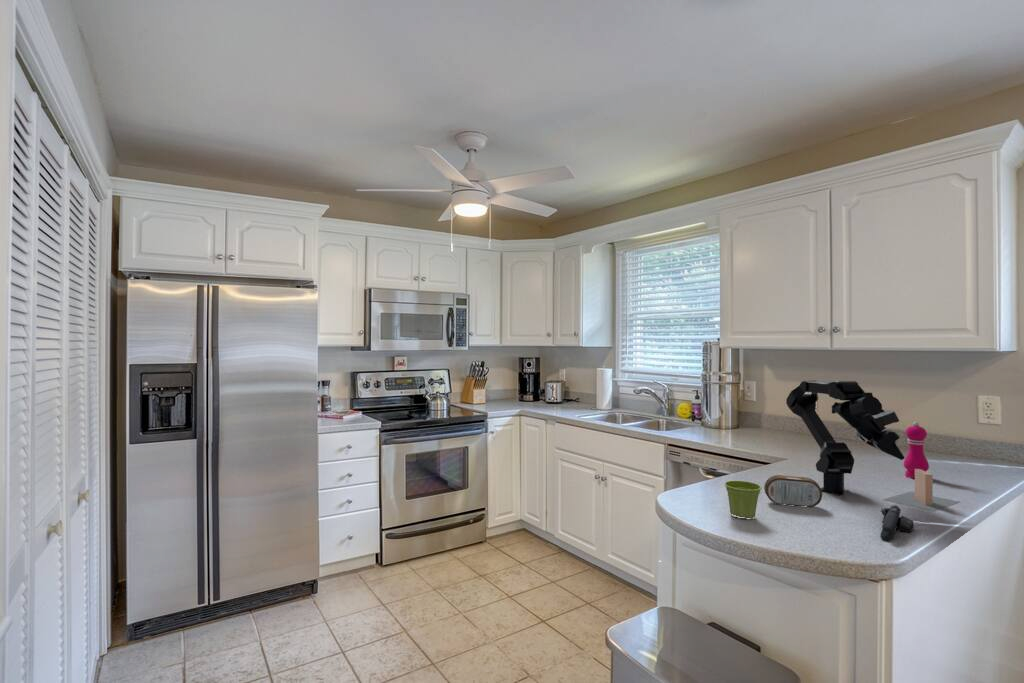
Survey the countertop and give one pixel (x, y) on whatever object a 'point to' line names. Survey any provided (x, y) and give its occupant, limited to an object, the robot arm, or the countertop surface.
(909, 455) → the pepper mill
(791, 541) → the countertop surface
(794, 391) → the robot arm
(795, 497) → the tin
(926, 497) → the tile
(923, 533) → the countertop surface
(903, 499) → the mat
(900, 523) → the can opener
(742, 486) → the plant pot
